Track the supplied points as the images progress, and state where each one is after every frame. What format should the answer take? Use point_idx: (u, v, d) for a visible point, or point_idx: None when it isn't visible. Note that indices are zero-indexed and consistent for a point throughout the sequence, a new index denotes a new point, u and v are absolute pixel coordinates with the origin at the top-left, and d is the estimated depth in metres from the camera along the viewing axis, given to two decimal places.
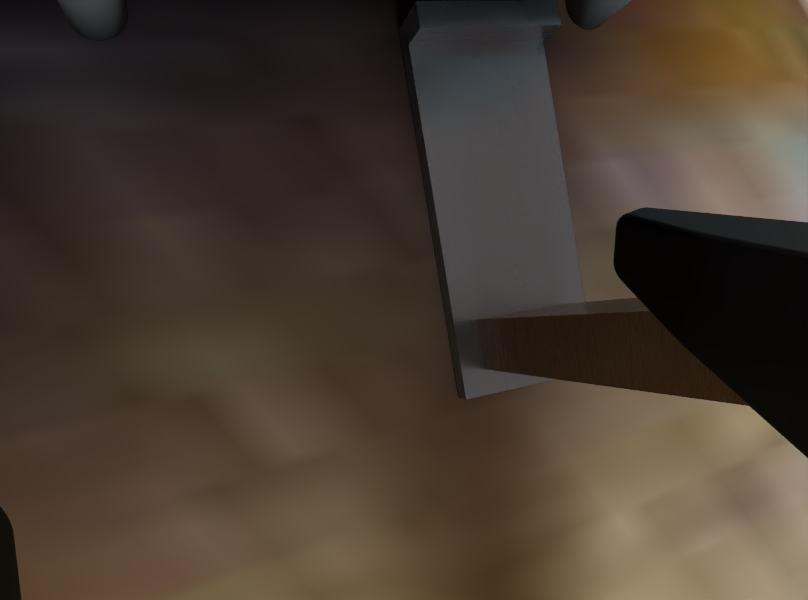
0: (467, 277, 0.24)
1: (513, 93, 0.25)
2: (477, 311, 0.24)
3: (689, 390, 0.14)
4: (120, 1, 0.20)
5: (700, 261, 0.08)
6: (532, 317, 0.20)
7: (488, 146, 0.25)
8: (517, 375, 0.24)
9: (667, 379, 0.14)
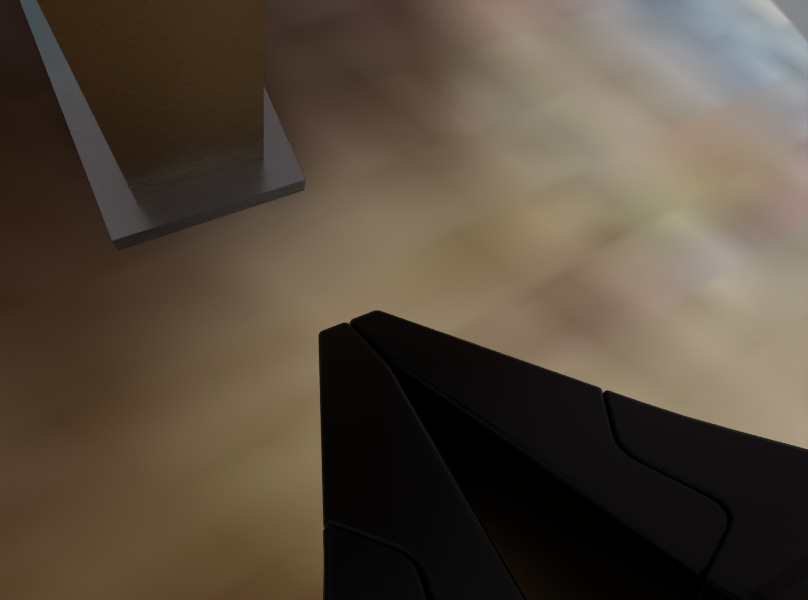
0: None
1: None
2: None
3: None
4: None
5: None
6: None
7: None
8: (186, 201, 0.18)
9: None
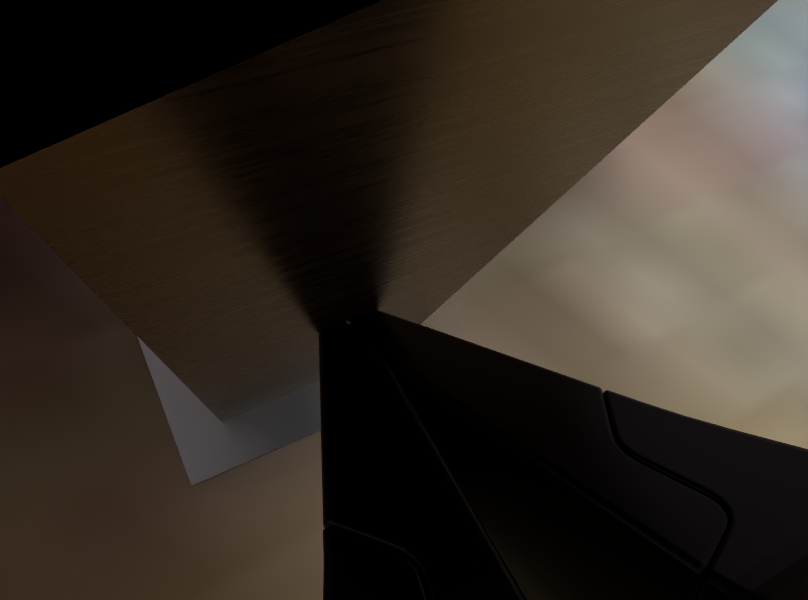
0: None
1: None
2: None
3: None
4: None
5: None
6: None
7: None
8: (289, 418, 0.14)
9: None
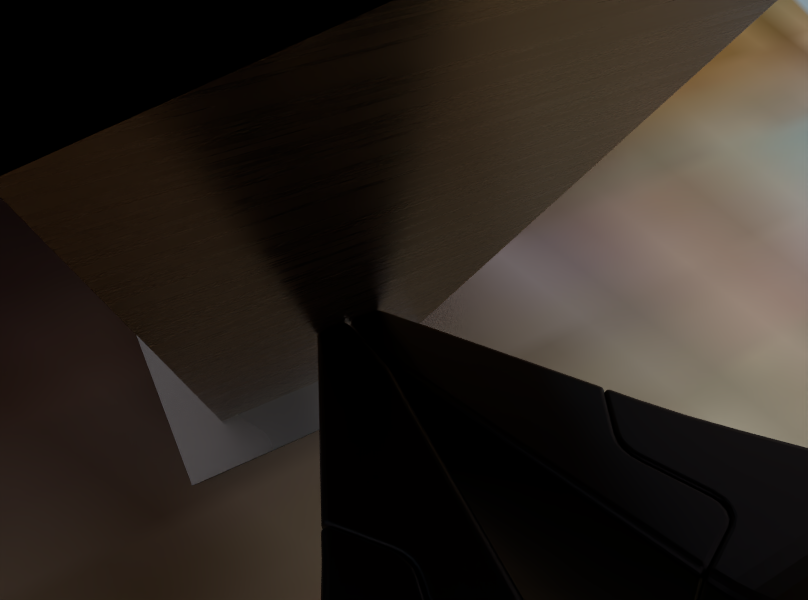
0: None
1: None
2: None
3: None
4: None
5: None
6: None
7: None
8: (289, 417, 0.14)
9: None
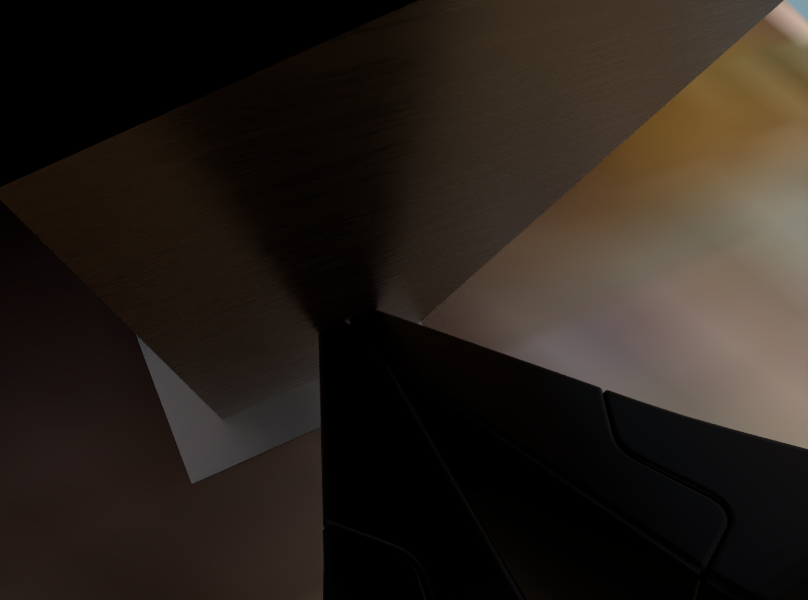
0: None
1: None
2: None
3: None
4: None
5: None
6: None
7: None
8: (290, 415, 0.13)
9: None
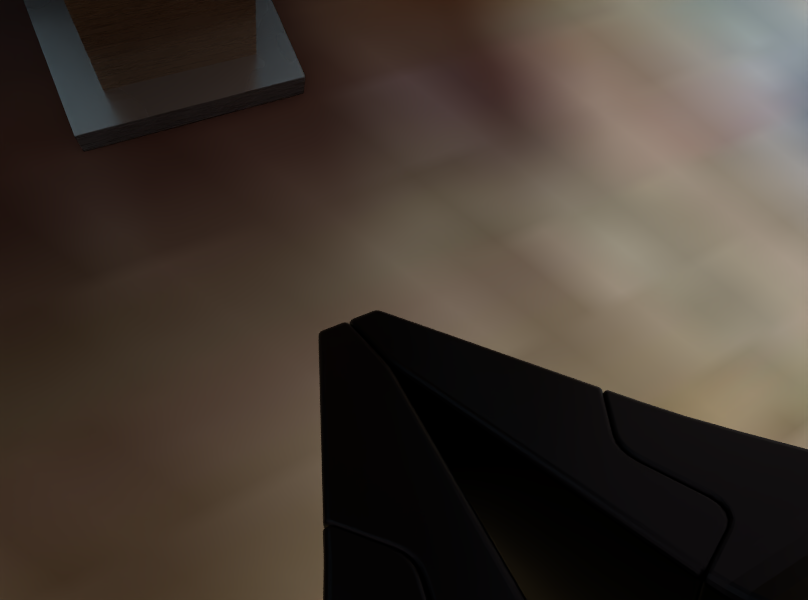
0: None
1: None
2: None
3: None
4: None
5: None
6: None
7: None
8: (164, 94, 0.16)
9: None
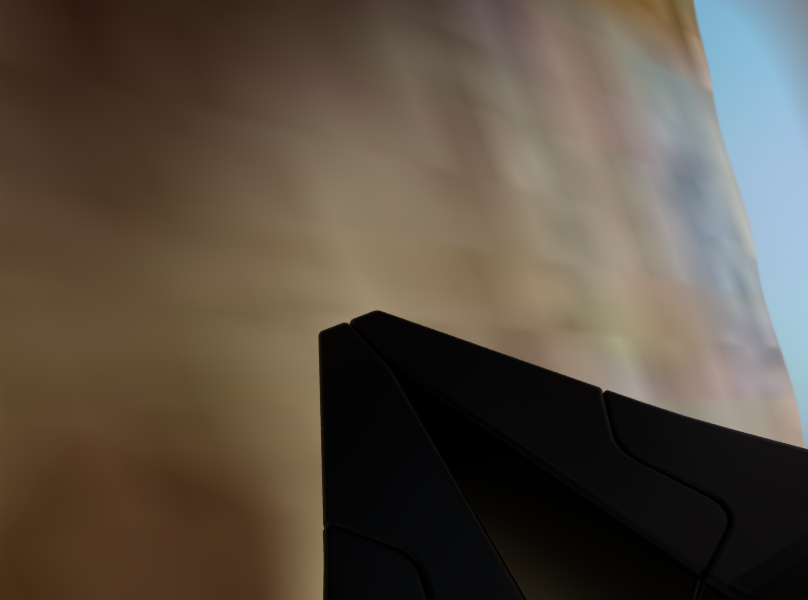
0: None
1: None
2: None
3: None
4: None
5: None
6: None
7: None
8: None
9: None
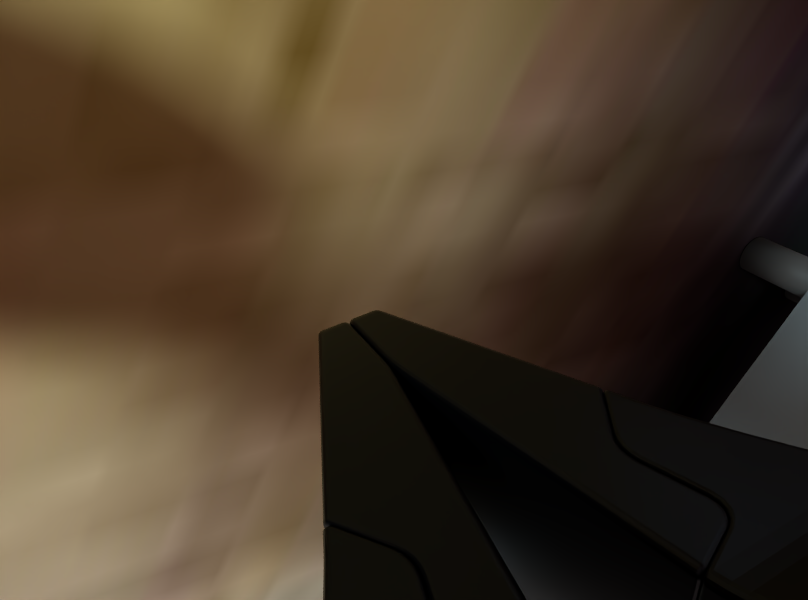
0: None
1: None
2: None
3: None
4: (762, 276, 0.33)
5: None
6: None
7: None
8: None
9: None
